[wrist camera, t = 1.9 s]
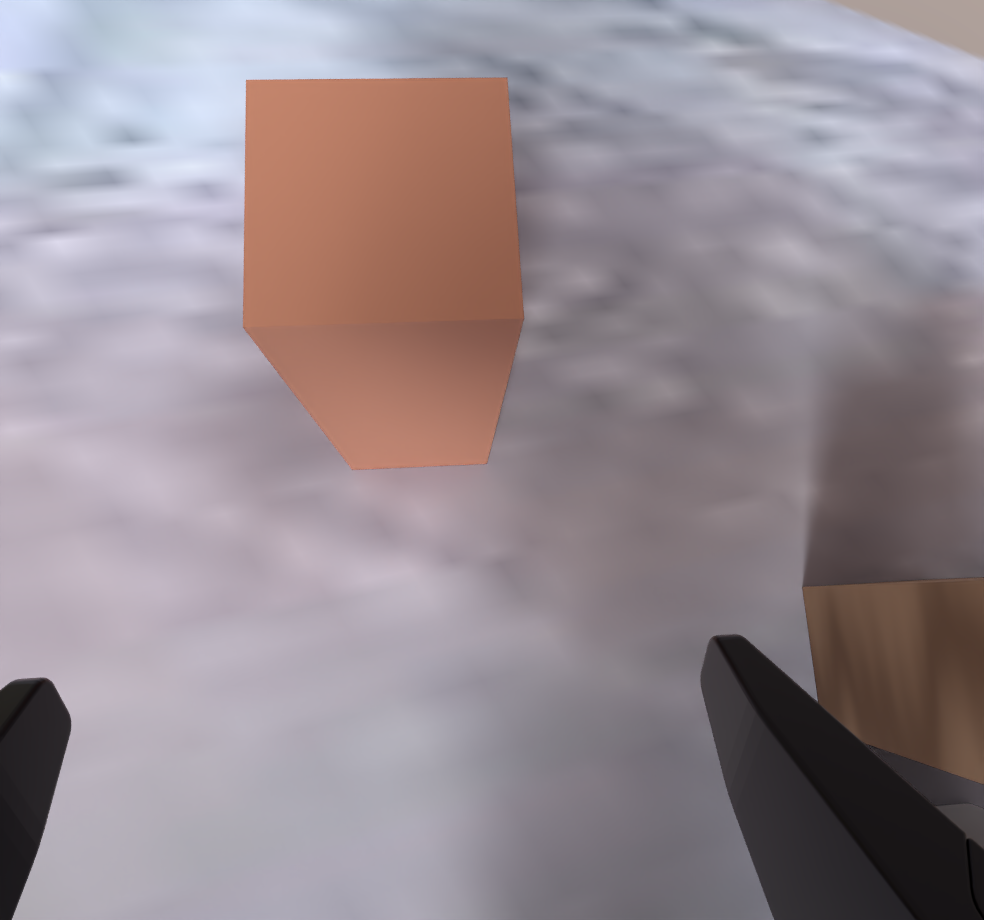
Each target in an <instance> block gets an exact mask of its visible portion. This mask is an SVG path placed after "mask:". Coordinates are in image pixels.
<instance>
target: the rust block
mask: <svg viewBox="0 0 984 920" xmlns="http://www.w3.org/2000/svg"><path fill="white" fill-rule="evenodd" d="M523 320H524V311H523V297H522V283H521V268H520V254H519V239H518V225H517V211H516V196H515V182H514V168H513V153H512V139H511V125H510V110H509V96H508V82H507V78H409V79H296V80H246V132H245V214H244V295H243V328H244V329H245V330H246V332H247V333H248V334H249V336H250V337H251V338H252V340H253V341H254V342H255V344H256V345H257V346H258V347H259V349H260V350H261V351H262V353H263V354H264V355H265V357H266V358H267V359H268V360H269V362H270V363H271V364H272V366H273V367H274V368H275V370H276V371H277V372H278V373H279V375H280V376H281V377H282V379H283V380H284V381H285V383H286V384H287V385H288V386H289V388H290V389H291V390H292V392H293V393H294V394H295V396H296V397H297V398H298V400H299V401H300V402H301V403H302V405H303V406H304V407H305V409H306V410H307V411H308V413H309V414H310V415H311V416H312V418H313V419H314V420H315V422H316V423H317V424H318V426H319V427H320V428H321V429H322V431H323V432H324V433H325V435H326V436H327V437H328V439H329V440H330V441H331V442H332V444H333V445H334V446H335V448H336V449H337V450H338V452H339V453H340V454H341V456H342V457H343V458H344V459H345V461H346V462H347V463H348V465H349V466H350V467H351V469H352V470H360V469H382V468H404V467H426V466H448V465H470V464H487V461H488V457H489V453H490V449H491V445H492V441H493V438H494V434H495V430H496V426H497V422H498V418H499V414H500V410H501V406H502V402H503V398H504V395H505V391H506V387H507V383H508V379H509V375H510V371H511V367H512V363H513V359H514V356H515V352H516V348H517V344H518V340H519V336H520V332H521V328H522V324H523Z"/></svg>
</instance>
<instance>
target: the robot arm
mask: <svg viewBox="0 0 984 920" xmlns="http://www.w3.org/2000/svg"><path fill="white" fill-rule="evenodd" d="M701 689H702V693H703V697H704V701H705V705H706V709H707V713H708V717H709V721H710V725H711V729H712V733H713V737H714V741H715V745H716V749H717V753H718V757H719V761H720V765H721V769H722V773H723V776H724V780H725V784H726V787H727V791H728V795H729V798H730V800H731V803H732V806H733V809H734V812H735V815H736V818H737V820H738V823H739V826H740V828H741V831H742V834H743V837H744V839H745V842H746V845H747V847H748V850H749V853H750V856H751V858H752V861H753V864H754V866H755V869H756V872H757V874H758V877H759V880H760V883H761V885H762V888H763V891H764V893H765V896H766V899H767V902H768V904H769V907H770V910H771V912H772V915H773V918H774V920H984V849H983V848H982V847H981V846H980V845H979V844H978V843H977V842H976V841H974V840H973V839H972V838H967V837H966V834H965V832H964V831H963V830H962V829H961V828H959V827H958V826H957V825H956V824H955V823H954V822H953V821H951V820H950V819H949V818H948V817H947V816H946V815H945V814H944V813H942V812H941V811H940V810H939V809H938V808H937V807H936V806H935V805H933V804H932V803H931V802H930V801H929V800H928V799H927V798H925V797H924V796H923V795H922V794H921V793H920V792H919V791H918V790H916V789H915V788H914V787H913V786H912V785H911V784H910V783H909V782H907V781H906V780H905V779H904V778H903V777H902V776H901V775H899V774H898V773H897V772H896V771H895V770H894V769H893V768H892V767H890V766H889V765H888V764H887V763H886V762H885V761H884V760H882V759H881V758H880V757H879V756H878V755H877V754H876V753H875V752H873V751H872V750H871V749H870V748H869V747H868V746H867V745H866V744H864V743H863V742H862V741H861V740H860V739H859V738H858V737H856V736H855V735H854V734H853V733H852V732H851V731H850V730H849V729H847V728H846V727H845V726H844V725H843V724H842V723H841V722H840V721H838V720H837V719H836V718H835V717H834V716H833V715H832V714H830V713H829V712H828V711H827V710H826V709H825V708H824V707H823V706H821V705H820V704H819V703H818V702H817V701H816V700H815V699H814V698H812V697H811V696H810V695H809V694H808V693H807V692H806V691H804V690H803V689H802V688H801V687H800V686H799V685H798V684H797V683H795V682H794V681H793V680H792V679H791V678H790V677H789V676H787V675H786V674H785V673H784V672H783V671H782V670H781V669H780V668H778V667H777V666H776V665H775V664H774V663H773V662H772V661H771V660H769V659H768V658H767V657H766V656H765V655H764V654H763V653H761V652H760V651H759V650H758V649H757V648H756V647H755V646H754V645H752V644H751V643H750V642H749V641H748V640H747V639H746V638H744V637H742V636H741V635H737V634H732V635H716V636H713V637H712V638H711V639H710V641H709V643H708V647H707V651H706V655H705V659H704V663H703V667H702V671H701ZM70 732H71V718H70V714H69V712H68V710H67V708H66V706H65V704H64V703H63V701H62V699H61V697H60V695H59V693H58V691H57V690H56V688H55V686H54V684H53V683H52V681H50V680H49V679H47V678H27V679H18V680H14V681H12V682H10V683H9V684H7V685H6V686H5V687H4V688H2V689H1V690H0V920H12V918H13V915H14V912H15V910H16V907H17V905H18V902H19V899H20V897H21V894H22V892H23V889H24V886H25V884H26V881H27V879H28V876H29V873H30V871H31V868H32V865H33V863H34V860H35V857H36V854H37V851H38V849H39V845H40V842H41V839H42V836H43V832H44V829H45V825H46V822H47V818H48V814H49V810H50V807H51V803H52V799H53V796H54V792H55V788H56V784H57V781H58V777H59V773H60V770H61V766H62V762H63V758H64V755H65V751H66V747H67V744H68V740H69V736H70Z"/></svg>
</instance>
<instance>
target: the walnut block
mask: <svg viewBox="0 0 984 920" xmlns="http://www.w3.org/2000/svg"><path fill="white" fill-rule="evenodd" d="M802 588H803V595H804V603H805V610H806V617H807V624H808V631H809V638H810V645H811V652H812V660H813V667H814V674H815V681H816V688H817V695H818V702H819V704H820V705H821V706H823V707H824V708H825V709H826V710H827V711H828V712H829V713H830V714H832V715H833V716H834V717H835V718H836V719H837V720H838V721H840V722H841V723H842V724H843V725H844V726H845V727H846V728H847V729H849V730H850V731H851V732H852V733H853V734H854V735H855V736H856V737H858V738H859V739H860V740H861V741H862V742H863V743H866V744H868V745H871V746H874V747H877V748H880V749H883V750H886V751H889V752H891V753H894V754H897V755H900V756H903V757H906V758H909V759H912V760H914V761H917V762H920V763H923V764H926V765H929V766H932V767H935V768H938V769H940V770H943V771H946V772H949V773H952V774H955V775H958V776H961V777H963V778H966V779H969V780H972V781H975V782H978V783H981V784H984V577H978V578H954V579H930V580H913V581H896V582H879V583H862V584H845V585H828V586H811V587H802Z"/></svg>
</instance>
